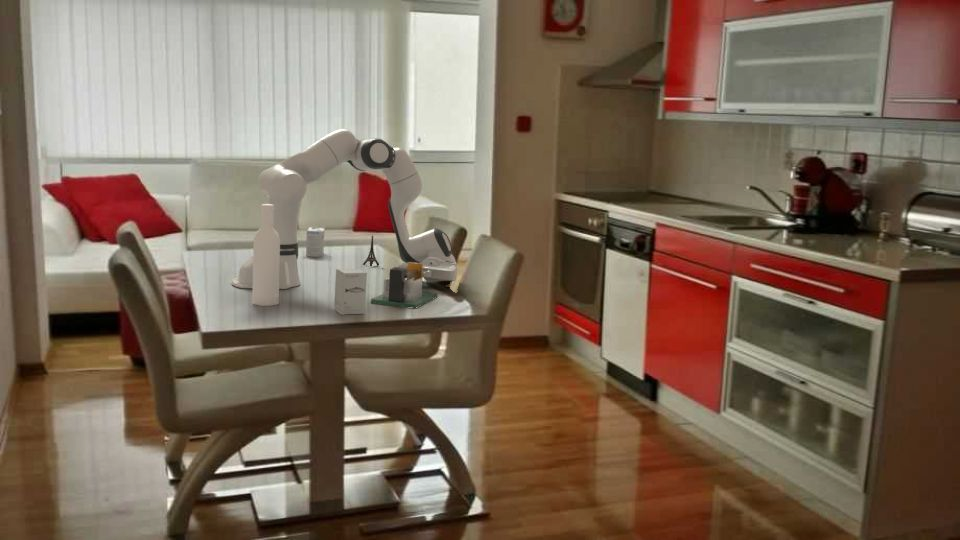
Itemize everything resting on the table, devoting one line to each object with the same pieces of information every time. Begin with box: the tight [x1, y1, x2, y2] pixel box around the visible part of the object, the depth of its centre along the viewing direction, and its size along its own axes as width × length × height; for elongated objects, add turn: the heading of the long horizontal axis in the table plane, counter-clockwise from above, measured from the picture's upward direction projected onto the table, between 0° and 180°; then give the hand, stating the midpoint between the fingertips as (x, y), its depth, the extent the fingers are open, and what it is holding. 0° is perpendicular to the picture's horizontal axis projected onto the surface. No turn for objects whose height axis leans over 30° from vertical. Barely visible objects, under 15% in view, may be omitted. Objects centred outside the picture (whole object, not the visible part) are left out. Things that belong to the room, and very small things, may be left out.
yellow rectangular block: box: [404, 262, 423, 281], centre depth 280 cm, size 11×5×8 cm, turn 164°
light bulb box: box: [305, 226, 325, 258], centre depth 357 cm, size 11×7×11 cm, turn 6°
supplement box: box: [333, 268, 368, 316], centre depth 255 cm, size 7×7×13 cm
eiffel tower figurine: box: [361, 234, 380, 266], centre depth 339 cm, size 15×10×13 cm
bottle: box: [251, 203, 280, 307], centre depth 258 cm, size 8×8×30 cm
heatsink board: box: [370, 266, 439, 309], centre depth 278 cm, size 21×15×11 cm
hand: (420, 274), depth 291 cm, fingers closed
